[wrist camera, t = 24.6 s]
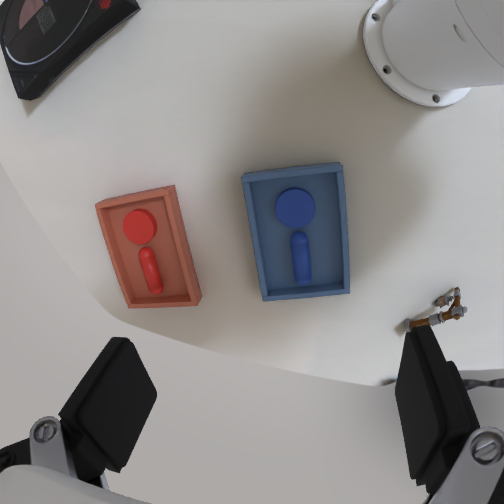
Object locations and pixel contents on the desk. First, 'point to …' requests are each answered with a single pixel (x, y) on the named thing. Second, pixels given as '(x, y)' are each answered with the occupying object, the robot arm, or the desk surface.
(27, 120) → the desk surface
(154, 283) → the red disc and rod
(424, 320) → the wooden post with brackets
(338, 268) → the blue-grey tray
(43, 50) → the portable cd player
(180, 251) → the terracotta tray
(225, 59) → the desk surface
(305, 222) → the blue spoon
